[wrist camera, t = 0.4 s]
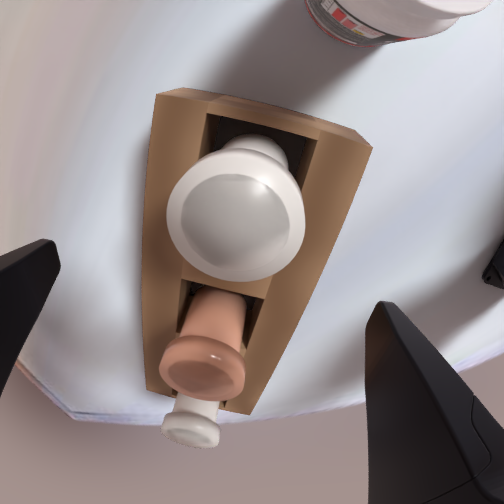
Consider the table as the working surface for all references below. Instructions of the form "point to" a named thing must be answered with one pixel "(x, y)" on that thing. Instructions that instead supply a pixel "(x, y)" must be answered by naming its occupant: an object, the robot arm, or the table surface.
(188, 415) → the grey plug
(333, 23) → the pill bottle
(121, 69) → the table surface
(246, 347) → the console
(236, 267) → the grey plug
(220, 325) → the terracotta plug middle
